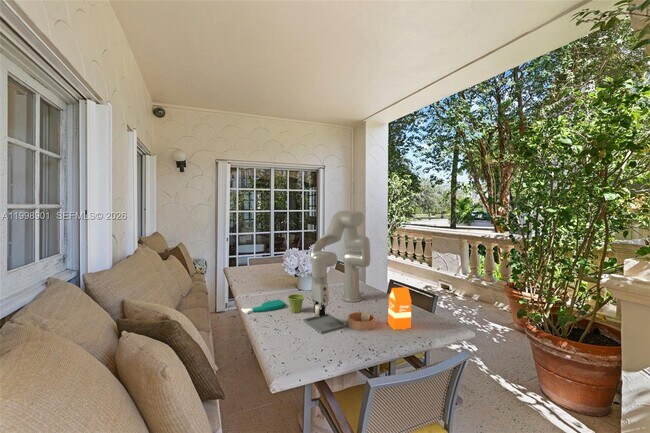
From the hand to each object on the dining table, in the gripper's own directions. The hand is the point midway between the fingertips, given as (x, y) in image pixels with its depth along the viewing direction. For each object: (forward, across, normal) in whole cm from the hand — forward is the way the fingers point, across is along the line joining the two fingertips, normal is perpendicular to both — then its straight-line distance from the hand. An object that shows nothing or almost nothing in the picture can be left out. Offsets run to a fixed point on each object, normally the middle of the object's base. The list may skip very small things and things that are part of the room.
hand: (319, 313), depth 148 cm
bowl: (+6, -12, -18) cm, 22 cm away
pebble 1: (+1, 0, 0) cm, 1 cm away
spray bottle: (+7, +37, +15) cm, 41 cm away
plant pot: (+7, +24, +1) cm, 24 cm away
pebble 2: (+6, -11, -21) cm, 25 cm away
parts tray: (+6, 0, -3) cm, 7 cm away
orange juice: (+7, -22, -34) cm, 41 cm away
